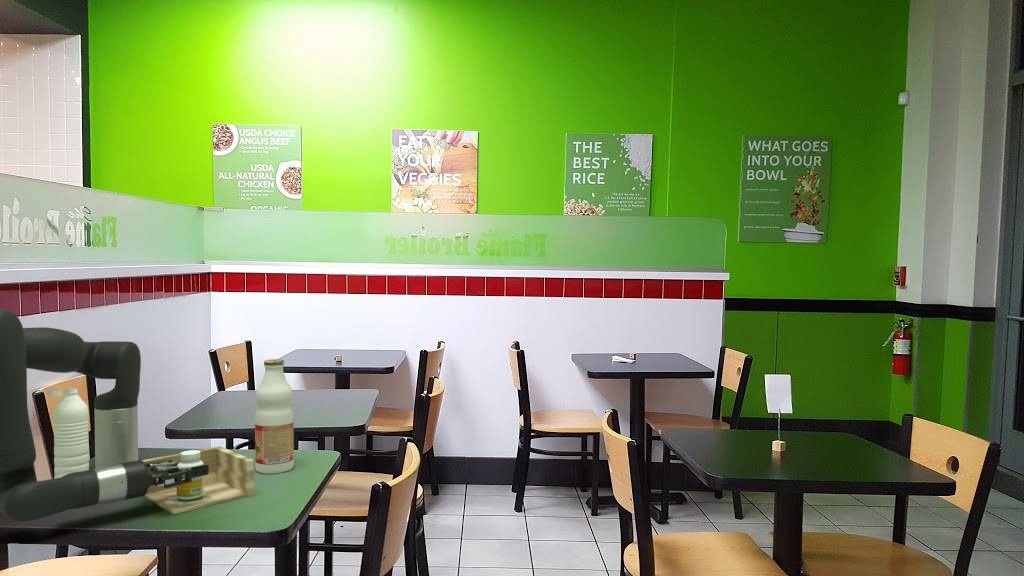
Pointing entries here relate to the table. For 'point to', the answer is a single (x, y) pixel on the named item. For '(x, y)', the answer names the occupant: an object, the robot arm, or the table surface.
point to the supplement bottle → (197, 484)
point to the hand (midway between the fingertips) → (202, 466)
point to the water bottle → (70, 433)
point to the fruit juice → (274, 421)
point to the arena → (209, 481)
